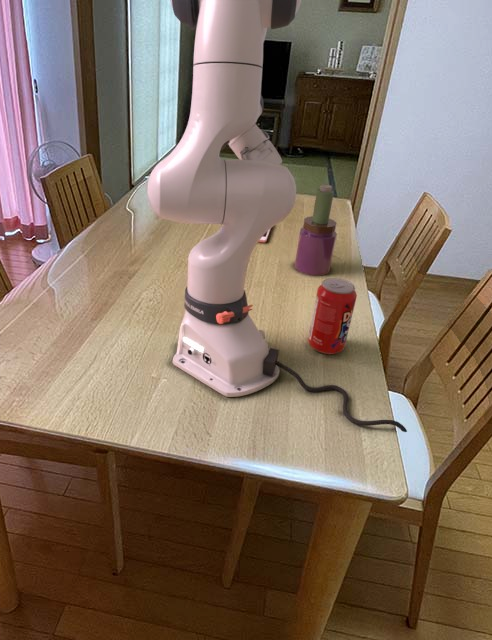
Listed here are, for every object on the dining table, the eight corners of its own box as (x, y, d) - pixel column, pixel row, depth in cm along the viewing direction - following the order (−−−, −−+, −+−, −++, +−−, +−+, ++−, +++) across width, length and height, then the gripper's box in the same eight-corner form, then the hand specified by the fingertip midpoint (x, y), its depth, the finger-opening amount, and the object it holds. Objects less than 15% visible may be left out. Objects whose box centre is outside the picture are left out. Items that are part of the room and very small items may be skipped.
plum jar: (336, 270, 139) (346, 224, 132) (312, 278, 134) (321, 230, 127) (311, 258, 146) (319, 213, 139) (287, 265, 141) (294, 218, 133)
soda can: (300, 339, 107) (311, 278, 99) (330, 334, 109) (343, 274, 102) (319, 359, 101) (333, 296, 93) (351, 353, 103) (366, 291, 95)
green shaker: (331, 222, 132) (338, 187, 127) (320, 225, 130) (327, 189, 125) (319, 217, 135) (325, 183, 130) (308, 220, 133) (314, 185, 128)
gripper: (248, 144, 119) (281, 189, 122) (267, 131, 136) (297, 171, 138) (229, 160, 123) (262, 203, 125) (250, 145, 139) (279, 184, 142)
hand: (280, 186), depth 132 cm, fingers open, 8 cm apart
